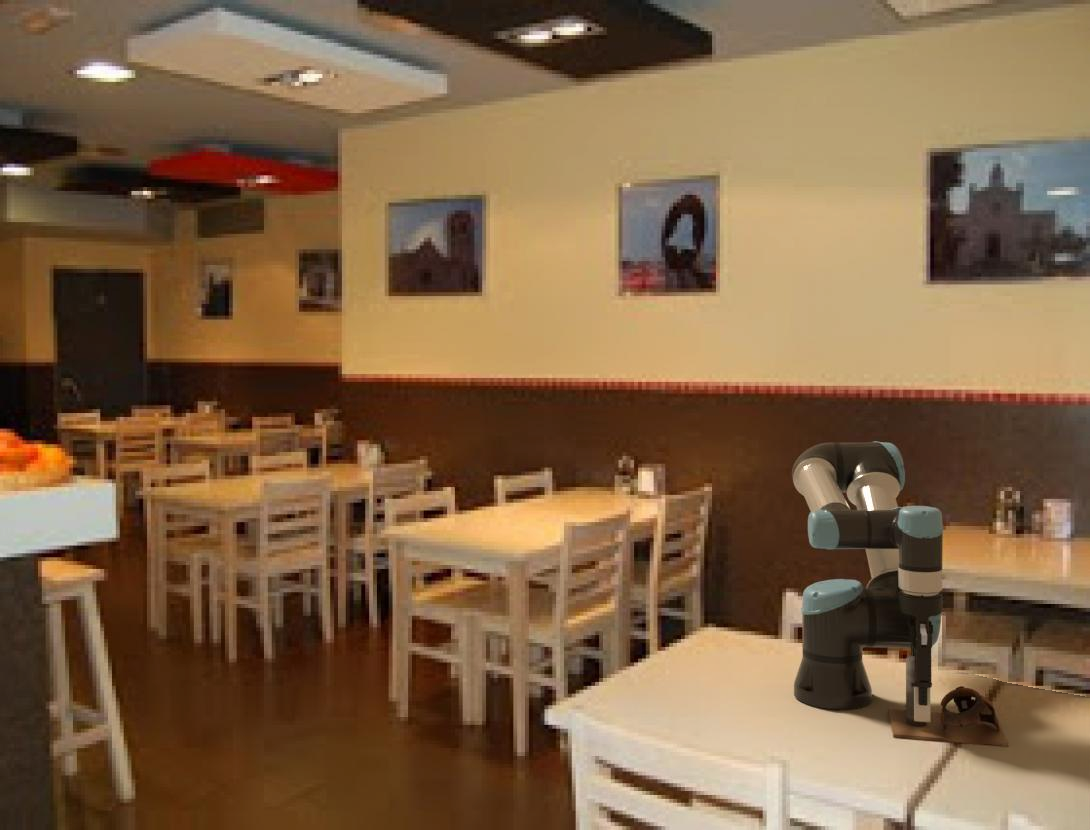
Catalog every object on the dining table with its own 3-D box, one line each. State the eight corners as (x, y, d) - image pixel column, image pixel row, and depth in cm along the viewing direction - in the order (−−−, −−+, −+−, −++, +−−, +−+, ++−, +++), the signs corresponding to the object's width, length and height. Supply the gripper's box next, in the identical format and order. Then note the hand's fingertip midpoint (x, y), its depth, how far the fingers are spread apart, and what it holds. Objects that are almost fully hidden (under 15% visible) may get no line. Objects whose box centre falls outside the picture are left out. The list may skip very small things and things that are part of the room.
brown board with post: (893, 737, 174) (893, 668, 174) (888, 711, 187) (888, 647, 186) (1008, 746, 169) (1008, 675, 168) (995, 719, 182) (995, 653, 181)
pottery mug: (1012, 740, 171) (994, 705, 169) (961, 760, 173) (942, 725, 171) (987, 700, 183) (970, 666, 181) (939, 720, 185) (922, 686, 183)
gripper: (948, 604, 168) (948, 735, 169) (936, 580, 185) (936, 700, 187) (902, 602, 170) (903, 731, 171) (895, 579, 187) (895, 697, 189)
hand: (920, 715), depth 179 cm, fingers open, 5 cm apart
